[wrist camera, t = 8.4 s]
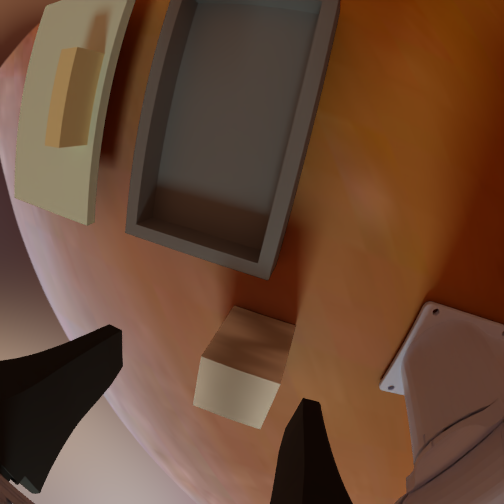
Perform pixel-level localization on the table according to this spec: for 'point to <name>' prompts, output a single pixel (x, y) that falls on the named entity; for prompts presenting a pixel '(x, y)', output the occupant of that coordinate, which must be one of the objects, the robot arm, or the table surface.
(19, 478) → the robot arm
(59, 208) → the lid
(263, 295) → the table surface
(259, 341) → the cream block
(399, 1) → the table surface
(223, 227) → the grey storage tray
